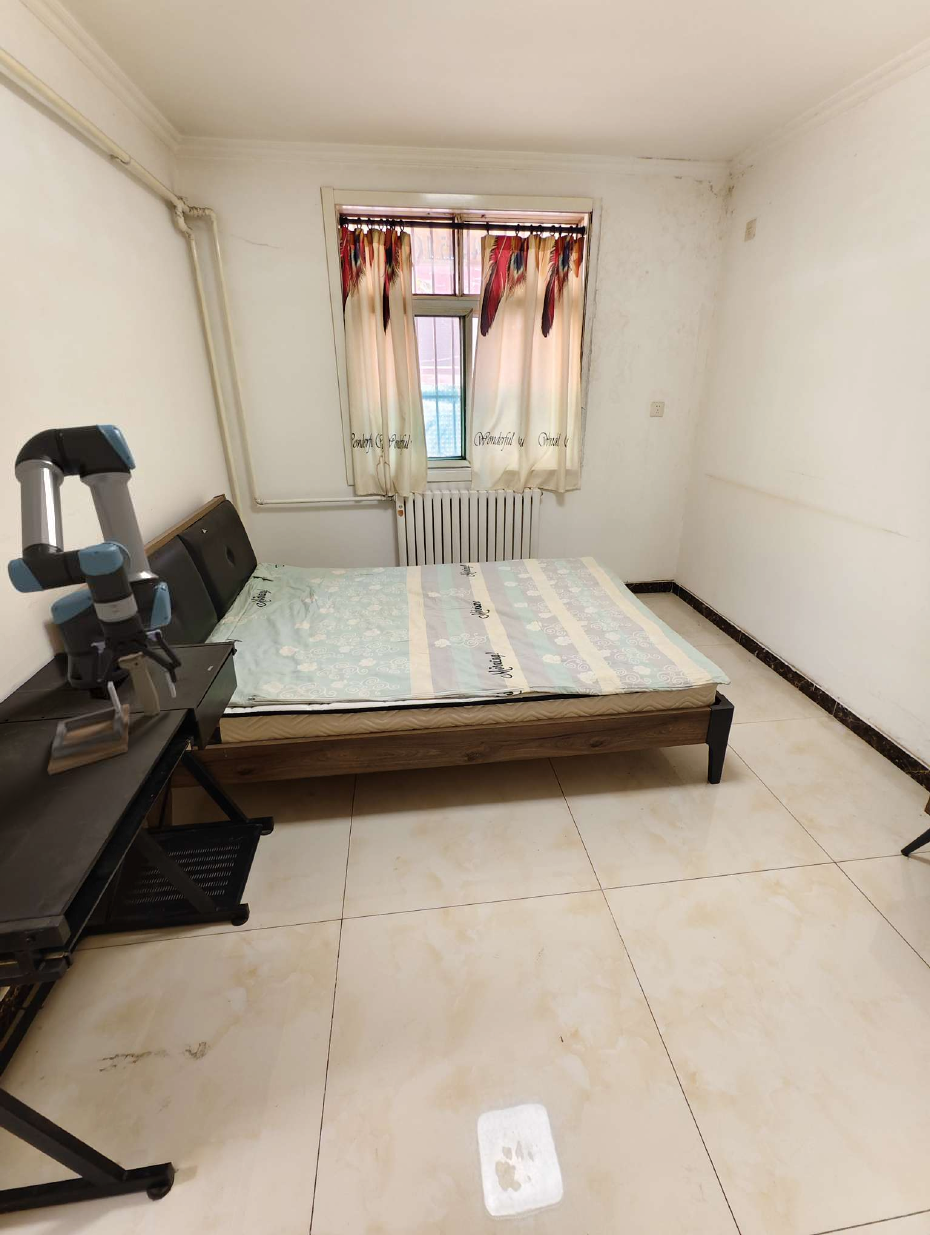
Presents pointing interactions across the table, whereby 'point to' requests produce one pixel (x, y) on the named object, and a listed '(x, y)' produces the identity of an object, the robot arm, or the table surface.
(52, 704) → the table surface
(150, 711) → the handle
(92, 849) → the table surface
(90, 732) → the collar board
